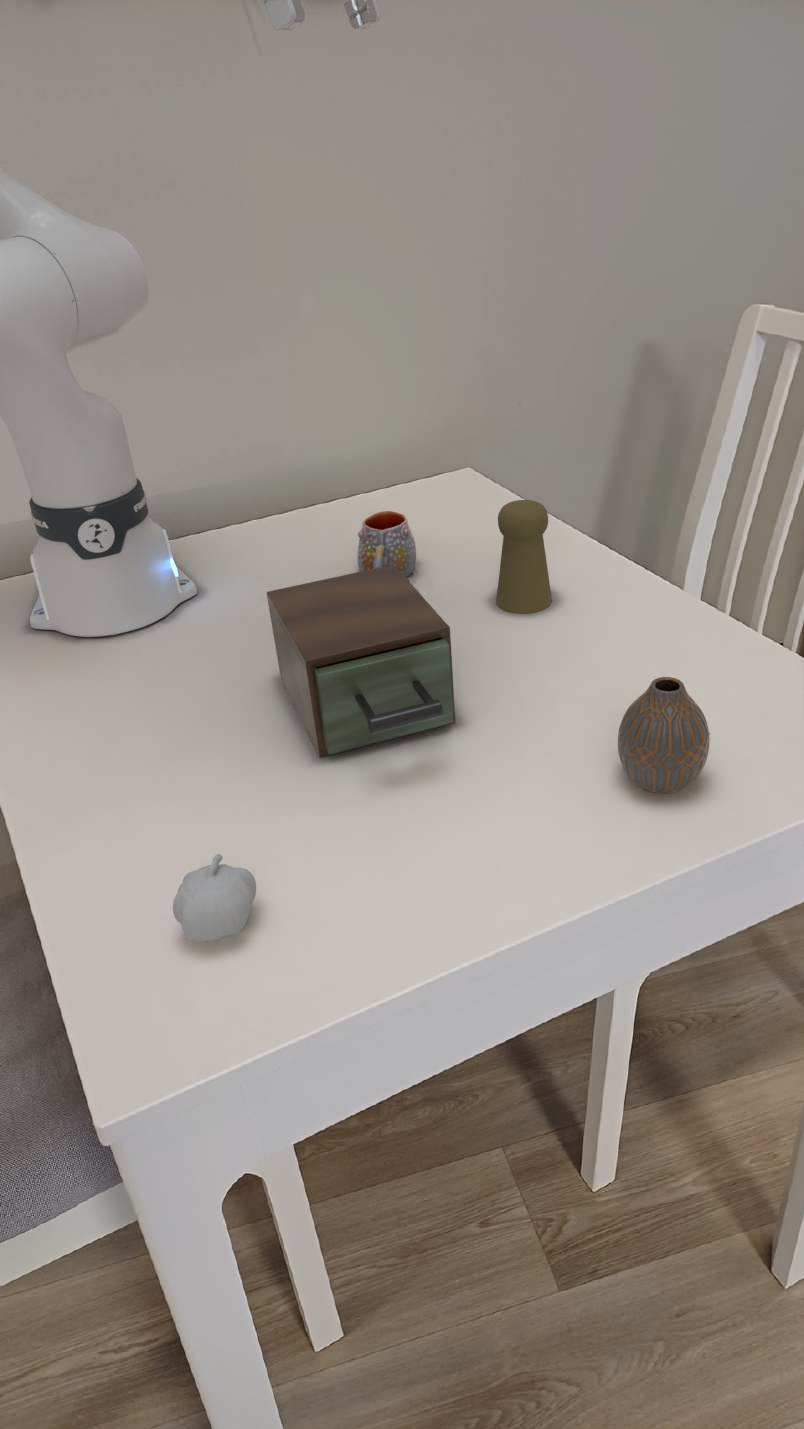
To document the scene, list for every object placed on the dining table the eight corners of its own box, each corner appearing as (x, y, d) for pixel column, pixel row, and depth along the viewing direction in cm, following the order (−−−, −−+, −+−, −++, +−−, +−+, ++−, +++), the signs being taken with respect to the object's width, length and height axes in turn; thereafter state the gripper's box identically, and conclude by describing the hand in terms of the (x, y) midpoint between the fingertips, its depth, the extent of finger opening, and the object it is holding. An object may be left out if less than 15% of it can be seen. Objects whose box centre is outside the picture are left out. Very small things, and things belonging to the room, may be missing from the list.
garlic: (228, 885, 72) (215, 829, 70) (278, 916, 69) (267, 859, 66) (162, 933, 69) (146, 876, 66) (211, 968, 66) (197, 910, 63)
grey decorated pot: (365, 560, 120) (359, 508, 116) (421, 560, 119) (417, 507, 115) (345, 605, 110) (338, 549, 107) (406, 605, 109) (401, 548, 105)
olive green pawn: (549, 614, 105) (550, 515, 99) (492, 612, 106) (489, 515, 100) (554, 588, 109) (554, 493, 104) (499, 588, 111) (496, 493, 105)
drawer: (477, 753, 82) (473, 672, 78) (346, 788, 80) (335, 706, 76) (403, 655, 98) (396, 583, 93) (291, 682, 95) (279, 608, 91)
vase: (641, 744, 83) (647, 653, 79) (720, 771, 79) (731, 676, 75) (600, 785, 79) (603, 691, 74) (680, 816, 75) (689, 718, 70)
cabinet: (455, 723, 88) (450, 627, 83) (319, 758, 85) (305, 661, 80) (402, 651, 100) (394, 564, 95) (280, 680, 97) (266, 591, 92)
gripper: (307, -163, 73) (375, 45, 78) (108, -208, 59) (206, 51, 63) (373, -218, 69) (440, 4, 74) (177, -281, 55) (276, 1, 60)
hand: (331, 26), depth 69 cm, fingers open, 8 cm apart
